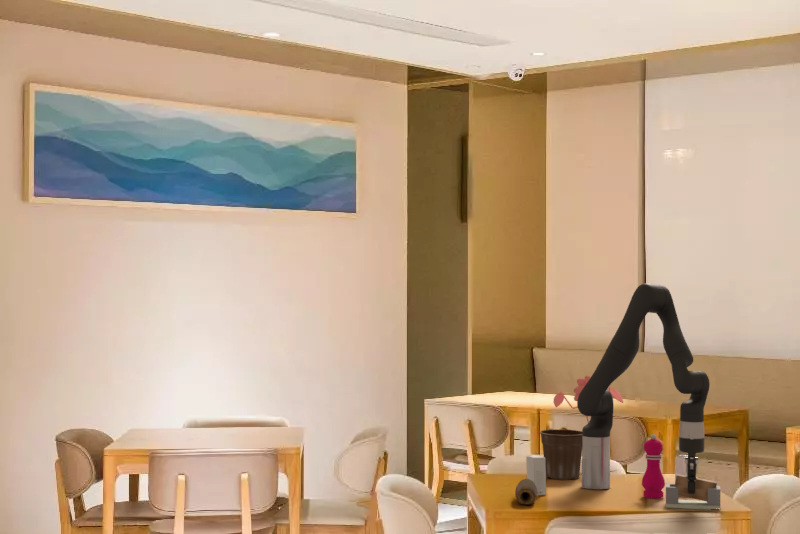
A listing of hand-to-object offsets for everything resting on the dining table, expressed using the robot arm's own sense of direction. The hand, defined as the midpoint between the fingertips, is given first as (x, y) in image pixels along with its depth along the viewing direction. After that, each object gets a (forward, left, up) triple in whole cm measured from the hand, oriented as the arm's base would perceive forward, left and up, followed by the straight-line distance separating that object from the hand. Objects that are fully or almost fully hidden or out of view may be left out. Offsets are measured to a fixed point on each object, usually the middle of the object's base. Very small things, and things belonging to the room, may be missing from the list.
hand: (691, 492), depth 359 cm
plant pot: (-44, +48, -4) cm, 65 cm away
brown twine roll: (-50, -7, -4) cm, 50 cm away
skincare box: (-49, +10, -4) cm, 50 cm away
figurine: (-36, +70, -4) cm, 79 cm away
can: (-2, +28, -4) cm, 28 cm away
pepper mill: (-12, +14, -4) cm, 19 cm away
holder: (0, 0, -4) cm, 4 cm away
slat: (+1, 0, -2) cm, 2 cm away
